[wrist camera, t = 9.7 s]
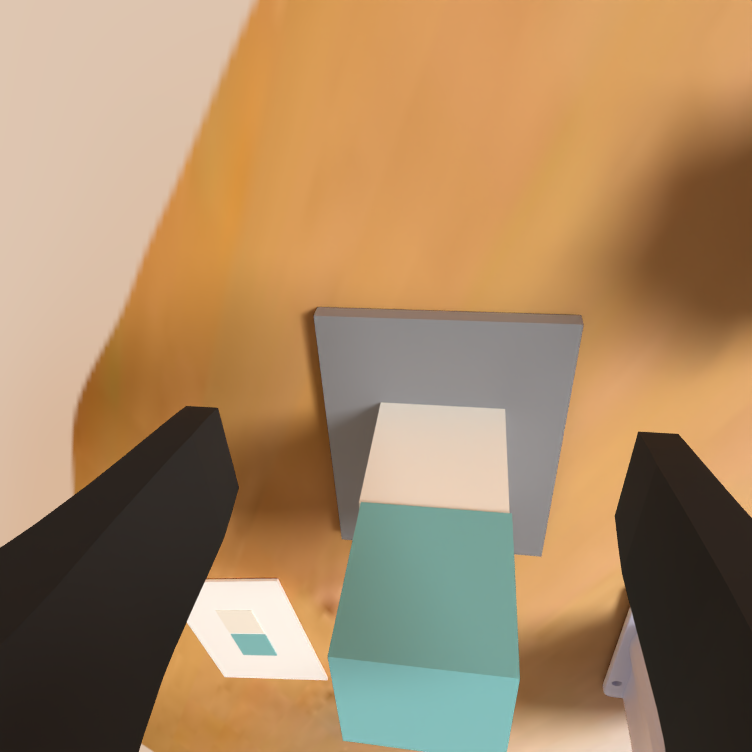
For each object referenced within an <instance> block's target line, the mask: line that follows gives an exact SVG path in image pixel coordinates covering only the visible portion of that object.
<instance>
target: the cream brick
mask: <svg viewBox="0 0 752 752" xmlns="http://www.w3.org/2000/svg"><path fill="white" fill-rule="evenodd" d="M361 502H369V503H382V504H395V505H408V506H421V507H434V508H447V509H460V510H473V511H487V512H500V513H510V512H509V488H508V465H507V442H506V419H505V409H496V408H477V407H458V406H440V405H421V404H402V403H383V402H381V404H380V408H379V413H378V417H377V422H376V427H375V431H374V436H373V440H372V445H371V450H370V454H369V459H368V463H367V468H366V473H365V477H364V482H363V486H362V491H361V495H360V500H359V508H360V504H361Z"/></svg>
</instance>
